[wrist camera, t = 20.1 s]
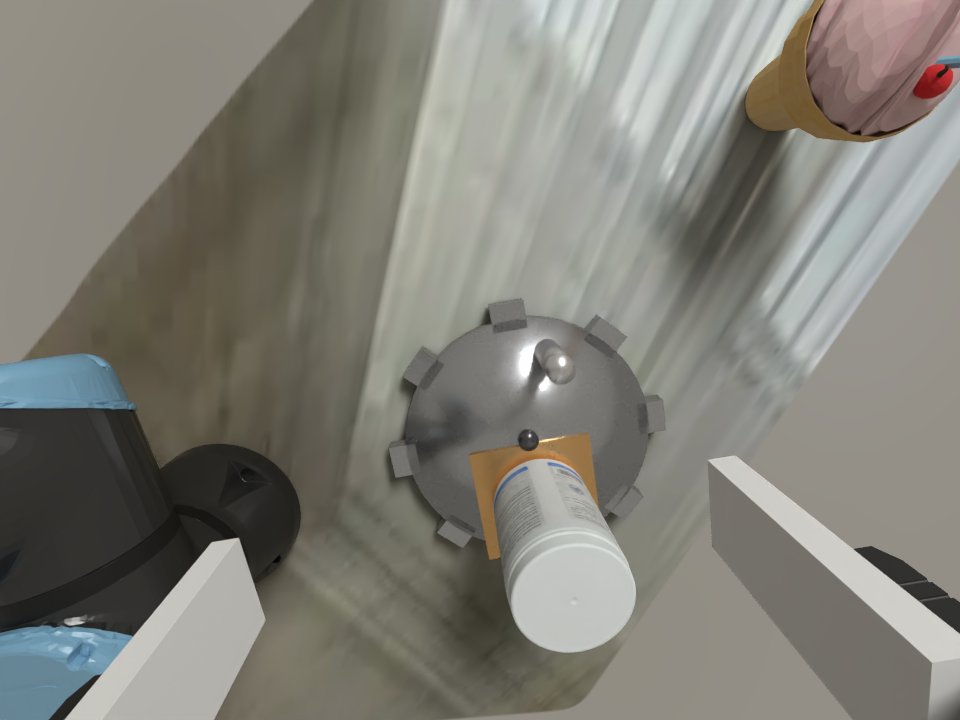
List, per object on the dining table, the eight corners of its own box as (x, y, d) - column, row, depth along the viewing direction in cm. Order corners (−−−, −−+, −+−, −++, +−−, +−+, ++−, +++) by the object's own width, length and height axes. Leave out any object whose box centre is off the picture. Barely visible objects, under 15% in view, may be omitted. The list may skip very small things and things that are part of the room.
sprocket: (566, 589, 54) (585, 653, 46) (343, 480, 50) (319, 528, 42) (712, 384, 49) (763, 413, 41) (476, 243, 45) (480, 244, 37)
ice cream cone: (850, 57, 43) (1173, -94, 23) (795, 182, 45) (1047, 140, 26) (739, 12, 42) (980, -186, 22) (688, 143, 44) (867, 68, 25)
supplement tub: (504, 549, 51) (521, 669, 36) (482, 467, 48) (491, 562, 34) (595, 527, 50) (648, 639, 36) (577, 444, 48) (626, 529, 34)
